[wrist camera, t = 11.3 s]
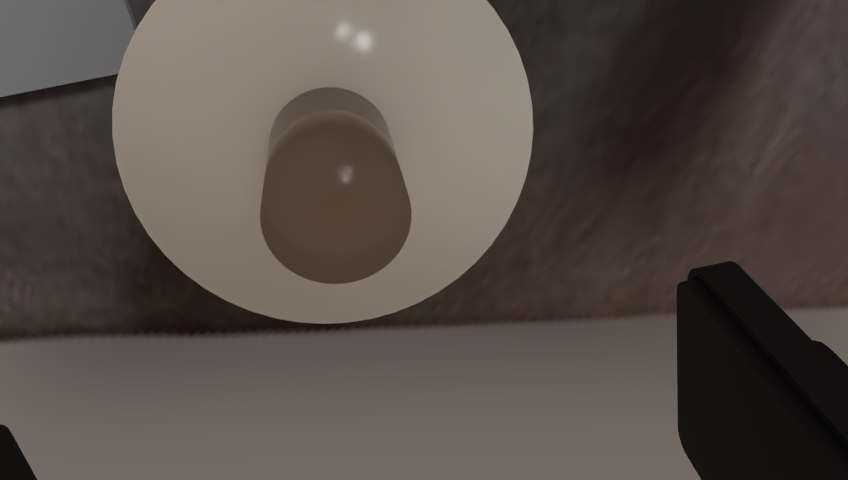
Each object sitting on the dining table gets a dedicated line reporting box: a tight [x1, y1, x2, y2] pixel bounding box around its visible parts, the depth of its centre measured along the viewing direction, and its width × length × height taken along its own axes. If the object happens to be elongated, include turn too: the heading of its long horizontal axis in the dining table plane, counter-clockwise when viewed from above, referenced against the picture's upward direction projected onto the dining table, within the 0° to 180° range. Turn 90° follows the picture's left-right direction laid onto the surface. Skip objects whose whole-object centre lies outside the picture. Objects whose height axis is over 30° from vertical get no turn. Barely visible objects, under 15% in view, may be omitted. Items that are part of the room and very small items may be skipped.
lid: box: [112, 0, 533, 324], centre depth 21 cm, size 12×12×6 cm
